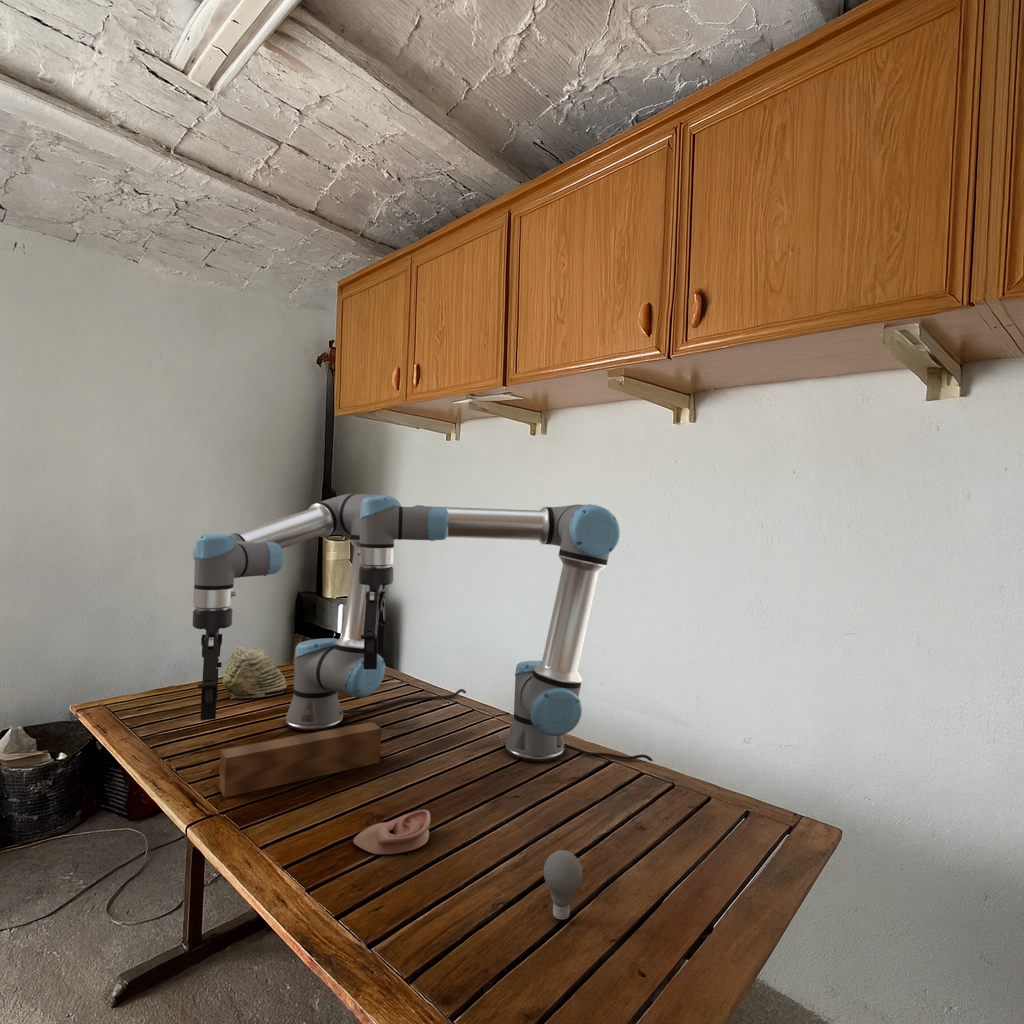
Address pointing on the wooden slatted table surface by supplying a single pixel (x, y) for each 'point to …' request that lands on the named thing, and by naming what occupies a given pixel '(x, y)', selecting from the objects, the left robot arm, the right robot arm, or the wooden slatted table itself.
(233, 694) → the fossil
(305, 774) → the bar
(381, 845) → the anatomical model
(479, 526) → the right robot arm
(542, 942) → the wooden slatted table surface
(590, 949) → the wooden slatted table surface
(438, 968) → the wooden slatted table surface
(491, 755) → the wooden slatted table surface
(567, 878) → the light bulb
